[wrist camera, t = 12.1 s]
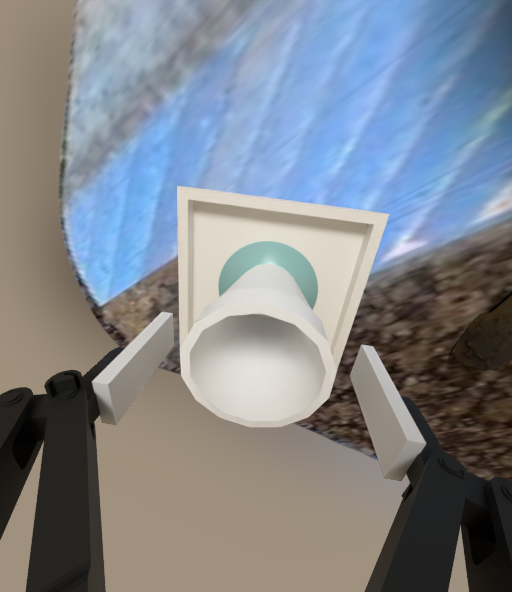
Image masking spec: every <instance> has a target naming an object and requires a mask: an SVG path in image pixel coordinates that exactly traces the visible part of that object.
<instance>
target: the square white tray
mask: <svg viewBox="0 0 512 592" xmlns="http://www.w3.org/2000/svg"><path fill="white" fill-rule="evenodd" d="M177 208H178V265H179V322H180V348H181V346H182V345H183V343H184V341H185V339H186V337H187V336H188V334H189V332H190V330H191V329H192V327H193V325H194V323H195V322H196V320H197V319H198V317H199V316H200V314H201V313H202V311H203V310H204V308H205V307H206V305H208V304H210V303H211V302H213V301H215V300H216V299H218V298H219V297H220V296H221V295H222V294H223V293H225V292H226V291H227V290H228V289H229V288H230V287H231V286H232V285H233V284H234V283H235V282H236V281H237V280H238V279H239V278H240V277H241V276H242V275H243V274H245V273H246V272H247V271H249V270H250V269H252V268H253V267H255V266H257V265H261V264H274V265H277V266H280V267H282V268H284V269H285V270H286V271H287V272H288V273H289V274H290V275H291V276H292V277H293V278H294V280H295V281H296V283H297V285H298V287H299V288H300V290H301V292H302V293H303V295H304V297H305V299H306V300H307V302H308V304H309V306H310V307H311V309H312V311H313V312H314V313H315V314H316V315H317V316H318V317H319V318H320V319H321V320H322V323H323V327H324V330H325V333H326V336H327V340H328V343H329V346H330V350H331V353H332V356H333V359H334V363H335V366H336V369H338V366H339V363H340V360H341V357H342V354H343V351H344V348H345V345H346V342H347V339H348V336H349V333H350V330H351V327H352V324H353V321H354V318H355V315H356V312H357V309H358V306H359V303H360V300H361V297H362V294H363V291H364V288H365V285H366V282H367V279H368V276H369V273H370V270H371V268H372V265H373V262H374V259H375V256H376V253H377V250H378V247H379V244H380V241H381V238H382V235H383V232H384V229H385V226H386V223H387V220H388V217H389V214H386V213H381V212H374V211H367V210H359V209H352V208H344V207H336V206H329V205H321V204H314V203H306V202H299V201H291V200H284V199H276V198H269V197H261V196H253V195H246V194H238V193H231V192H223V191H216V190H208V189H201V188H193V187H184V186H177Z"/></svg>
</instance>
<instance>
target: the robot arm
mask: <svg viewBox="0 0 512 592" xmlns="http://www.w3.org/2000/svg"><path fill="white" fill-rule="evenodd" d="M173 346H174V334H173V313H167V312H161V313H160V314H159V315H158V316H157V317H156V318H155V319H154V320H153V321H152V322H151V323H150V324H149V325H148V326H147V327H146V328H145V329H144V330H143V331H142V332H141V333H140V334H139V335H138V336H137V337H136V338H135V339H134V340H133V341H132V342H131V343H130V344H129V345H128V346H127V347H126V348H122V347H118V348H116V349H114V350H112V351H110V352H109V353H108V354H107V355H106V356H105V357H104V358H103V359H102V360H100V361H99V362H98V363H97V365H95V366H94V367H93V368H92V369H90V371H89V372H87V373H86V374H85V375H84V376H83V377H82V375H81V372H79V371H77V370H68V371H63V372H60V373H57V374H56V375H54V376H52V377H51V378H50V379H48V380H47V381H46V383H45V385H44V386H45V389H46V392H47V394H42V395H33V392H32V391H31V389H29V388H26V387H25V388H24V387H23V388H16V389H12V390H9V391H7V392H5V393H3V394H1V395H0V539H1V537H2V535H3V533H4V530H5V528H6V526H7V523H8V521H9V519H10V517H11V514H12V512H13V510H14V507H15V505H16V502H17V501H18V498H19V496H20V494H21V491H22V489H23V487H24V485H25V482H26V480H27V478H28V476H29V473H30V471H31V469H32V466H33V464H34V462H35V460H36V457H37V455H38V453H39V450H40V448H41V445H42V443H43V441H44V446H43V455H42V463H41V471H40V479H39V487H38V495H37V503H36V512H35V520H34V528H33V536H32V545H31V552H30V561H29V569H28V578H27V585H26V592H106V591H105V576H104V560H103V544H102V529H101V514H100V513H101V512H100V496H99V482H98V481H99V480H98V465H97V449H96V433H95V424H94V421H95V420H96V419H97V418H98V416H99V415H100V417H101V421H102V423H107V424H112V425H117V424H118V422H119V421H120V419H121V418H122V417H123V415H124V414H125V412H126V411H127V410H128V408H129V407H130V406H131V404H132V403H133V401H134V400H135V399H136V397H137V396H138V395H139V393H140V392H141V390H142V389H143V388H144V386H145V385H146V383H147V382H148V381H149V379H150V378H151V376H152V375H153V374H154V372H155V371H156V369H157V368H158V367H159V365H160V364H161V362H162V361H163V360H164V358H165V357H166V356H167V354H168V353H169V351H170V350H171V349H172V347H173ZM350 378H351V381H352V384H353V386H354V389H355V392H356V395H357V398H358V401H359V404H360V407H361V410H362V413H363V416H364V419H365V422H366V425H367V428H368V431H369V434H370V437H371V440H372V443H373V446H374V449H375V451H376V454H377V457H378V460H379V463H380V466H381V469H382V472H383V475H384V478H388V479H393V480H398V481H402V479H403V478H404V476H405V475H406V474H407V476H408V479H409V481H410V484H409V486H408V487H407V489H406V490H405V492H404V493H403V494H402V497H403V500H402V502H401V505H400V507H399V509H398V512H397V514H396V517H395V519H394V522H393V524H392V526H391V529H390V531H389V534H388V536H387V538H386V541H385V543H384V546H383V548H382V551H381V553H380V556H379V558H378V561H377V563H376V565H375V568H374V570H373V573H372V575H371V577H370V580H369V582H368V585H367V587H366V590H365V592H448V589H449V583H450V578H451V572H452V567H453V562H454V557H455V551H456V545H457V541H458V535H459V530H460V525H461V531H462V539H463V547H464V554H465V562H466V570H467V578H468V585H469V592H512V482H511V481H509V480H507V479H504V478H502V477H494V478H493V479H491V481H490V482H488V481H486V480H484V479H482V478H479V477H477V476H475V475H473V474H471V473H469V472H467V471H466V469H465V468H464V467H463V465H462V464H461V463H460V462H459V461H458V460H457V459H455V458H454V457H453V456H451V455H450V454H448V453H446V452H444V450H443V448H442V447H441V445H440V443H439V442H438V440H437V438H436V437H435V435H434V433H433V432H432V430H431V428H430V427H429V425H428V424H427V422H426V420H425V418H424V417H423V416H422V413H421V412H420V410H419V408H418V407H417V405H416V404H415V403H414V402H413V401H412V400H411V399H410V398H409V397H404V396H400V395H399V393H398V391H397V389H396V387H395V386H394V384H393V382H392V380H391V378H390V376H389V375H388V373H387V371H386V369H385V367H384V365H383V364H382V362H381V360H380V358H379V356H378V354H377V353H376V351H375V349H374V347H373V346H367V345H361V347H360V350H359V353H358V355H357V358H356V361H355V363H354V366H353V369H352V371H351V374H350Z"/></svg>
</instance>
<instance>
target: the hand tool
mask: <svg viewBox="0 0 512 592" xmlns="http://www.w3.org/2000/svg"><path fill="white" fill-rule="evenodd" d="M451 355H452V356H453V357H454V359H455V360H456V361H458V362H459V363H460V364H462V365H463V366H466V367H470V368H472V369H475V370H482V371H486V370H495V371H496V370H498V369H500V368H502V367H504V366H505V365H507V364H508V362H509V361H511V360H512V295H510V296H509V297H508V298H507V299H506V300H505V301H504V302H503V303H502V304H501V305H499V306H498V307H497V308H496V309H495V310H494V311H492V312H490V313H482V314H480V315H479V316H478V317H477V318H476V319H475V320H474V321H473V322H472V323H471V324H470V325H469V327H468V328H467V329H466V331H465V332H464V334H463V335H462V336H461V338H460V339H459V341H458V342H457V344H456V346H455V347H454V349H453V351H452V353H451Z"/></svg>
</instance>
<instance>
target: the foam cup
mask: <svg viewBox="0 0 512 592" xmlns="http://www.w3.org/2000/svg"><path fill="white" fill-rule="evenodd" d="M180 360H181V377H182V378H183V380H184V381H185V383H186V385H187V386H188V388H189V390H190V391H191V393H192V394H193V396H194V398H195V399H196V401H198V402H199V403H200V404H202V405H203V406H205V407H206V408H207V409H209V410H210V411H211V412H213V413H214V414H215V415H217V416H218V417H219V418H222V419H225V420H228V421H231V422H234V423H238V424H241V425H244V426H247V427H282V426H285V425H288V424H291V423H294V422H297V421H299V420H302V419H305V418H308V417H309V416H310V415H311V414H312V413H314V412H315V411H316V410H317V409H318V408H319V407H320V406H321V405H322V404H323V403H324V402H325V401H326V400H327V399H328V398H329V396H330V393H331V390H332V386H333V383H334V380H335V376H336V373H337V369H336V366H335V363H334V359H333V356H332V353H331V350H330V346H329V343H328V340H327V336H326V333H325V330H324V327H323V323H322V320H321V319H320V318H319V317H318V316H317V315H316V314H315V313H314V312H313V311H312V309H311V307H310V306H309V304H308V302H307V300H306V299H305V297H304V295H303V293H302V292H301V290H300V288H299V287H298V285H297V283H296V281H295V280H294V278H293V277H292V276H291V275H290V274H289V273H288V272H287V271H286V270H285V269H284V268H282V267H280V266H277V265H274V264H261V265H257V266H255V267H253V268H252V269H250V270H249V271H247V272H246V273H245V274H243V275H242V276H241V277H240V278H239V279H238V280H237V281H236V282H235V283H234V284H233V285H232V286H231V287H230V288H229V289H228V290H227V291H226V292H225V293H223V294H222V295H221V296H220V297H219V298H218V299H216V300H215V301H213V302H211V303H210V304H208V305H206V307H205V308H204V310H203V311H202V313H201V314H200V316H199V317H198V319H197V320H196V322H195V323H194V325H193V327H192V329H191V330H190V332H189V334H188V336H187V337H186V339H185V341H184V343H183V345H182V346H181V348H180Z"/></svg>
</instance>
